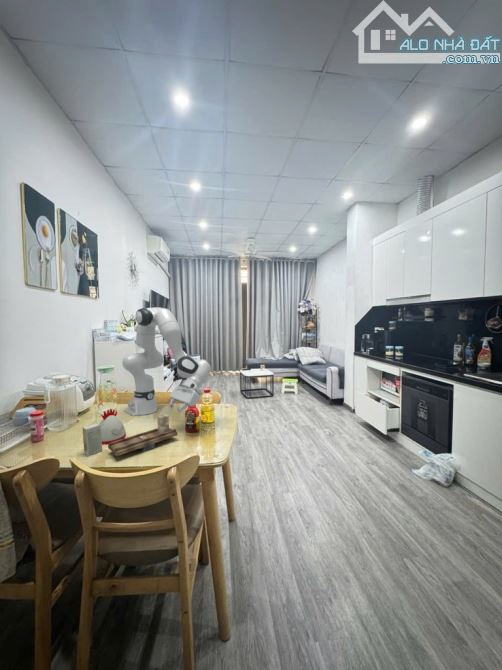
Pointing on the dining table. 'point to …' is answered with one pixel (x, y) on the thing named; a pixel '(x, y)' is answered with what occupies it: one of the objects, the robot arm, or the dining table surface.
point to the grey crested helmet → (111, 428)
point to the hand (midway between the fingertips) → (174, 409)
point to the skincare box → (92, 439)
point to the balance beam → (140, 441)
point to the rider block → (163, 423)
